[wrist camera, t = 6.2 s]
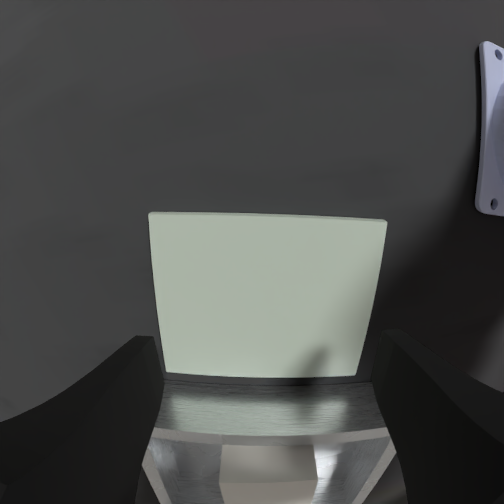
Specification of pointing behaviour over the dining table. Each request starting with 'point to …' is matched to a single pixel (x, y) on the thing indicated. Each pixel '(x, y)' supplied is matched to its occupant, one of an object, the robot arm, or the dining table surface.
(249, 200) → the dining table surface
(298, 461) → the block
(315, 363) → the pad
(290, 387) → the case
